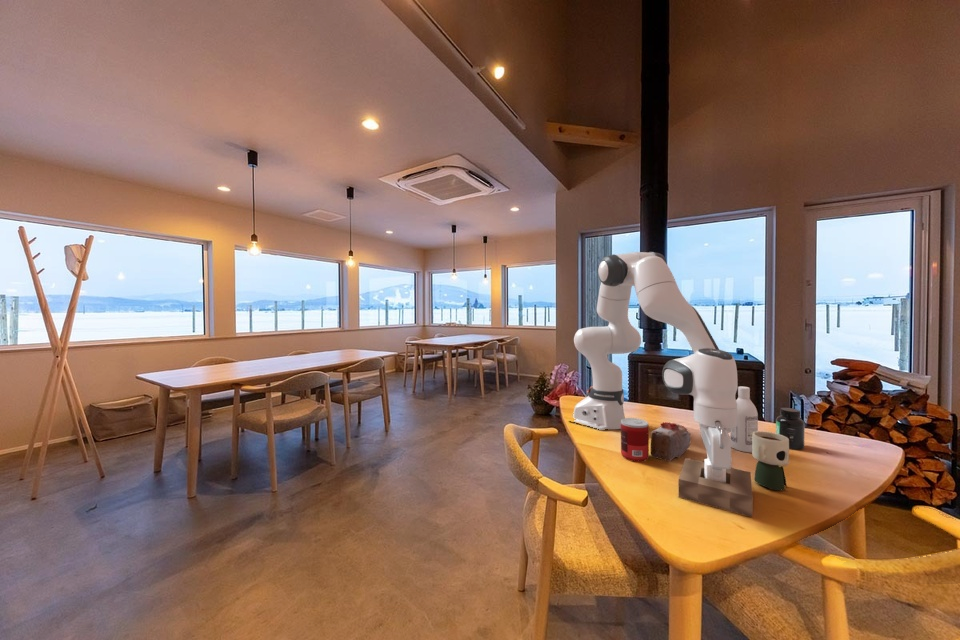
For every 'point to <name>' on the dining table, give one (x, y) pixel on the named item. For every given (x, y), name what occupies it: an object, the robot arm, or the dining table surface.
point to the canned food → (635, 439)
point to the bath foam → (744, 422)
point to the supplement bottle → (791, 427)
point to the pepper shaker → (709, 471)
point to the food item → (669, 441)
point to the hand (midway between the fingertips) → (714, 471)
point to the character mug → (770, 458)
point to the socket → (717, 488)
